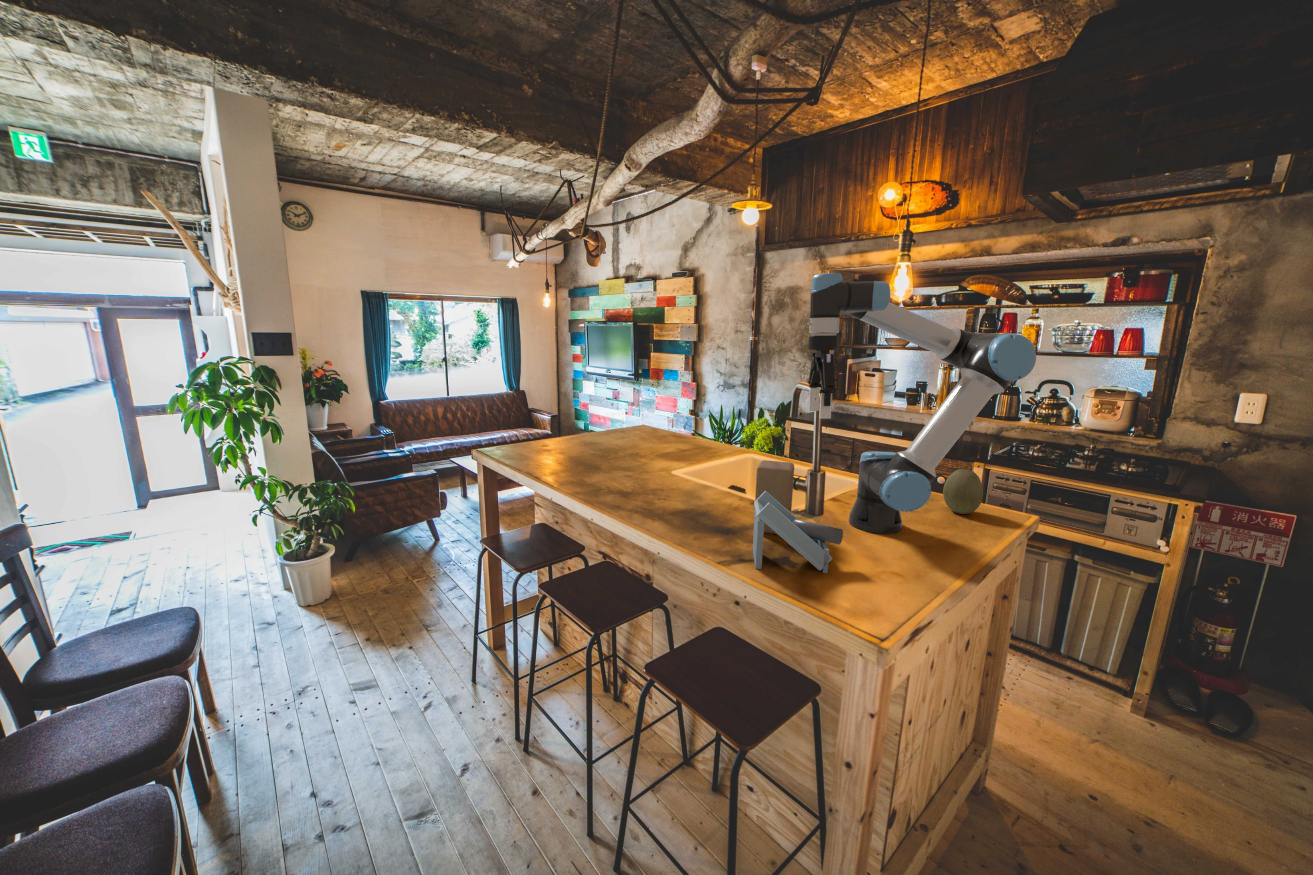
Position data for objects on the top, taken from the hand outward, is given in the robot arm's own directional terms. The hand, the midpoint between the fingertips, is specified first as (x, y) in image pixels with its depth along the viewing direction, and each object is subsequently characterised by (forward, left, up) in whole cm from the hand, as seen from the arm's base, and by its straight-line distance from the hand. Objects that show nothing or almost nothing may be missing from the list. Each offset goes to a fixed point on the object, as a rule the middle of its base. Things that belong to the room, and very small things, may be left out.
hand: (819, 414), depth 139 cm
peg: (+7, +16, -27) cm, 32 cm away
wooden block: (+10, -7, -36) cm, 38 cm away
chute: (+8, +16, -36) cm, 40 cm away
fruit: (-54, -31, -36) cm, 72 cm away
